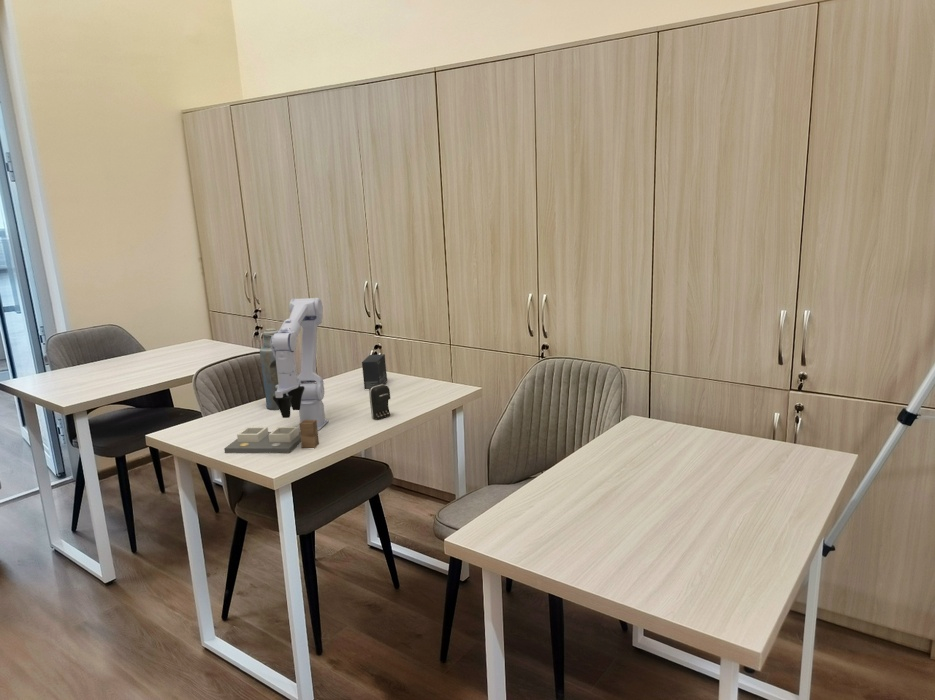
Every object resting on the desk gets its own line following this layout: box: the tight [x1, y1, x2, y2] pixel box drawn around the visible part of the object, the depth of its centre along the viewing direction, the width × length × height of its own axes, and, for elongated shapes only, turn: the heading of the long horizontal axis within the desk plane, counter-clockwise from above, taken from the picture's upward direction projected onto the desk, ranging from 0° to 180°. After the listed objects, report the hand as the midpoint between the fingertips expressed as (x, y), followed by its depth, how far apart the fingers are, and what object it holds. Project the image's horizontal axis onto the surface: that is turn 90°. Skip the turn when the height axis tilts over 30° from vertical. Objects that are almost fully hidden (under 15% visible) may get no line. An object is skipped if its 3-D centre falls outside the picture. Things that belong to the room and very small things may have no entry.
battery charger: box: [368, 384, 391, 420], centre depth 230 cm, size 7×4×11 cm, turn 135°
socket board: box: [223, 426, 302, 454], centre depth 209 cm, size 15×21×4 cm
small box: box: [361, 353, 388, 390], centre depth 272 cm, size 13×7×12 cm, turn 174°
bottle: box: [259, 327, 292, 411], centre depth 248 cm, size 10×10×30 cm
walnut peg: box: [299, 420, 320, 449], centre depth 205 cm, size 4×4×8 cm
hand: (291, 413), depth 205 cm, fingers open, 7 cm apart
